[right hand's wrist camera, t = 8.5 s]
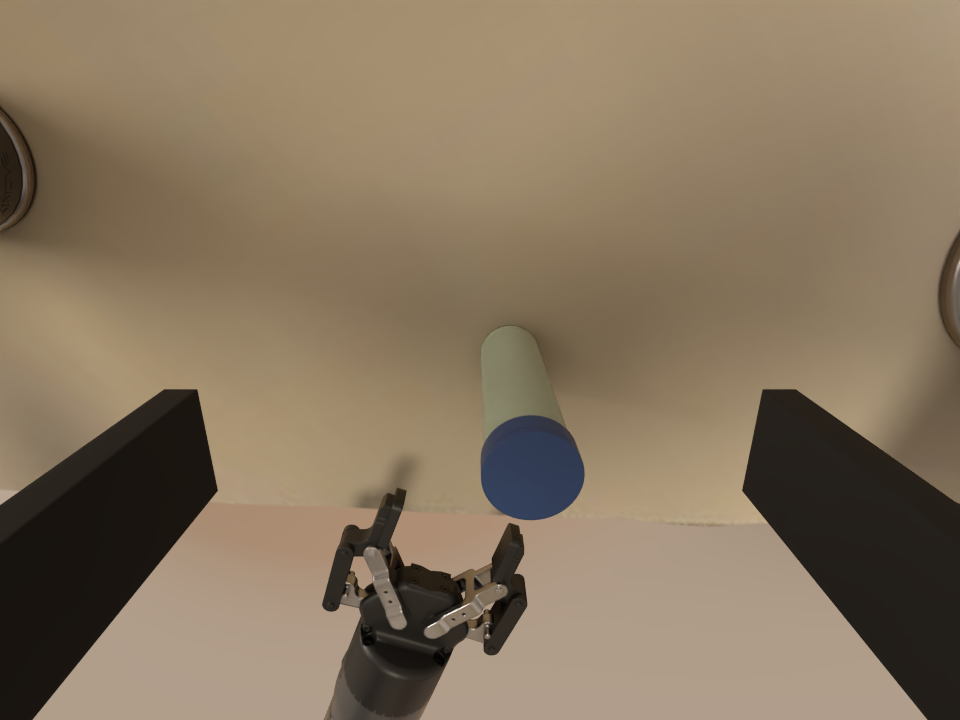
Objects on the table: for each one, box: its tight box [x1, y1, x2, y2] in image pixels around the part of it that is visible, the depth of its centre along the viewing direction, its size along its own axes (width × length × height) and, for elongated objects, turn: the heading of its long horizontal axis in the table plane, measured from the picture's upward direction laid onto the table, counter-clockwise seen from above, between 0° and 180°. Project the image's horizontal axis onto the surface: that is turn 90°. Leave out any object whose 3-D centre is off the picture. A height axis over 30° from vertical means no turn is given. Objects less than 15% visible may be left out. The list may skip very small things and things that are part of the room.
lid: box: [481, 415, 584, 520], centre depth 24 cm, size 5×5×2 cm
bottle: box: [481, 326, 567, 443], centre depth 32 cm, size 4×4×16 cm
